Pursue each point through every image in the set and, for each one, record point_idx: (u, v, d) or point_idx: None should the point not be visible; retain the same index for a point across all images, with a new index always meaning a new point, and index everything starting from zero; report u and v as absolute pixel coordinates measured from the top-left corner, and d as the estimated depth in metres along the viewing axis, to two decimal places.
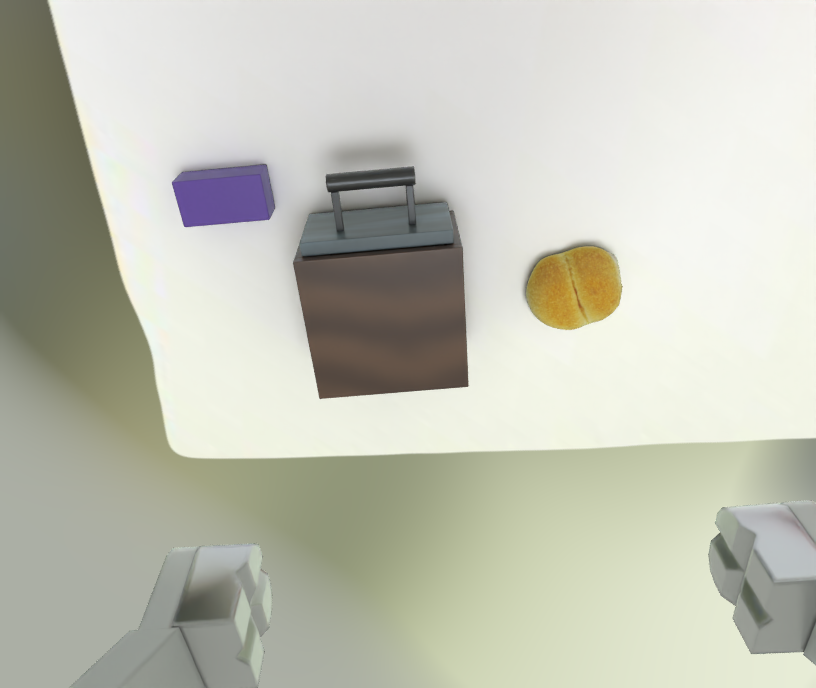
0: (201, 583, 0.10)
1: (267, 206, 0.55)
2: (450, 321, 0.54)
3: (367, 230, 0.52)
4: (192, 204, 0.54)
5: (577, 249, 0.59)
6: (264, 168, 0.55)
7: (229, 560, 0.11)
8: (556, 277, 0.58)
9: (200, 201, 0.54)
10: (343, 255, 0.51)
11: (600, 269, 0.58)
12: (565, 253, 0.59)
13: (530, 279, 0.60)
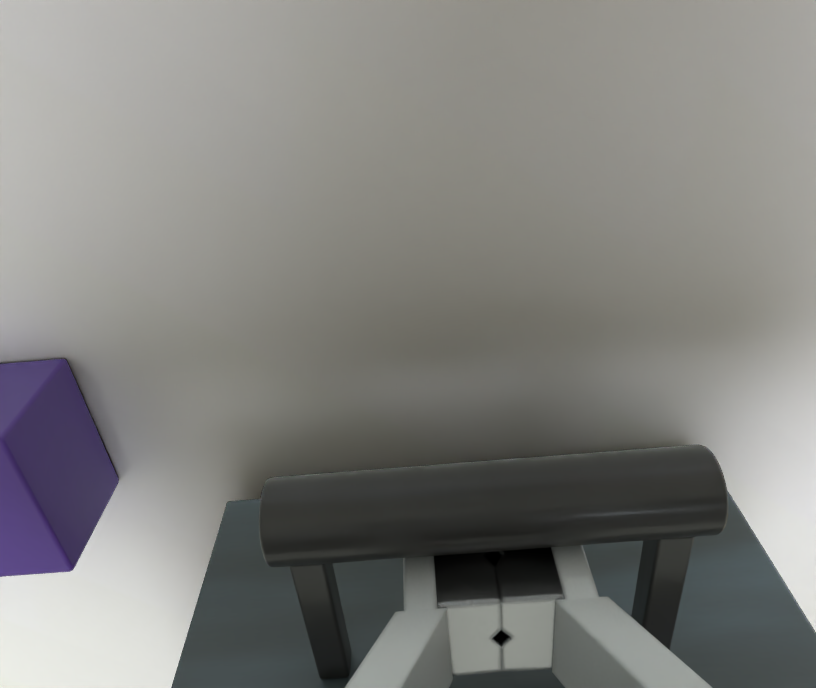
0: (451, 564, 0.10)
1: (59, 531, 0.14)
2: None
3: None
4: None
5: None
6: (48, 384, 0.14)
7: None
8: None
9: None
10: None
11: None
12: None
13: None
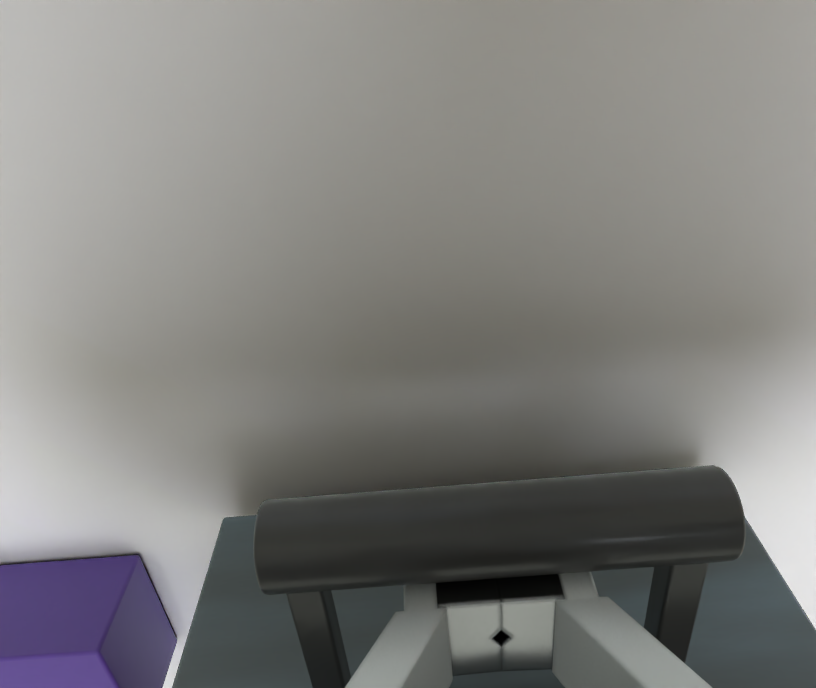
0: None
1: None
2: None
3: None
4: None
5: None
6: (127, 585, 0.17)
7: None
8: None
9: None
10: None
11: None
12: None
13: None
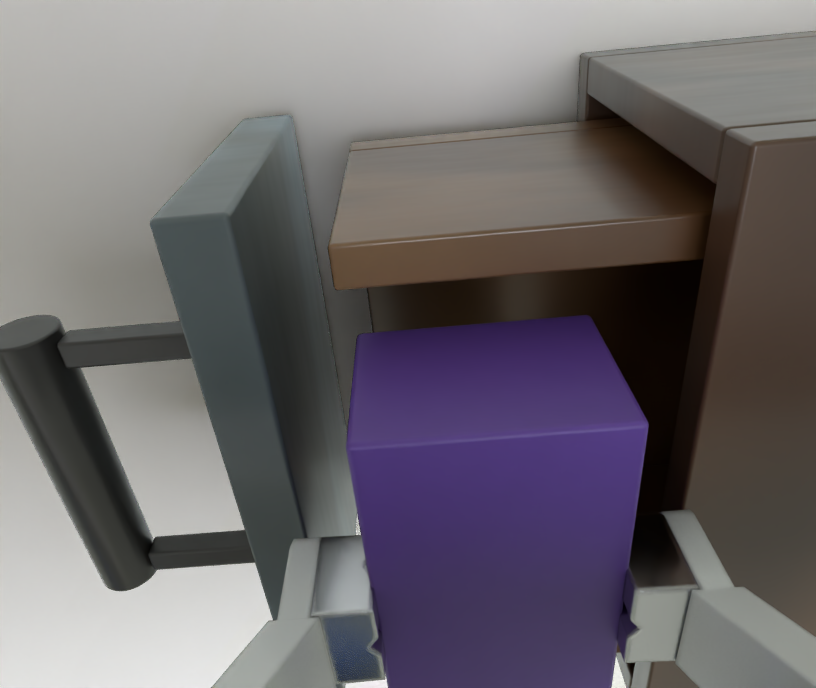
0: (332, 573, 0.10)
1: (560, 419, 0.08)
2: None
3: None
4: None
5: None
6: (359, 364, 0.10)
7: (357, 550, 0.10)
8: None
9: (491, 680, 0.11)
10: None
11: None
12: None
13: None
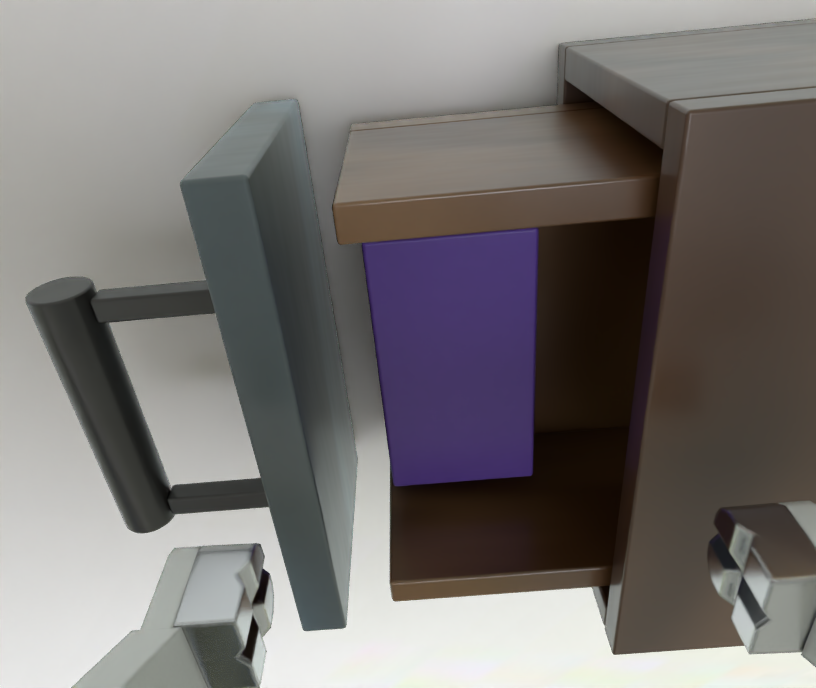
0: (203, 583, 0.10)
1: None
2: None
3: None
4: (463, 448, 0.17)
5: None
6: None
7: (232, 560, 0.11)
8: None
9: (454, 428, 0.17)
10: (620, 533, 0.15)
11: None
12: None
13: None
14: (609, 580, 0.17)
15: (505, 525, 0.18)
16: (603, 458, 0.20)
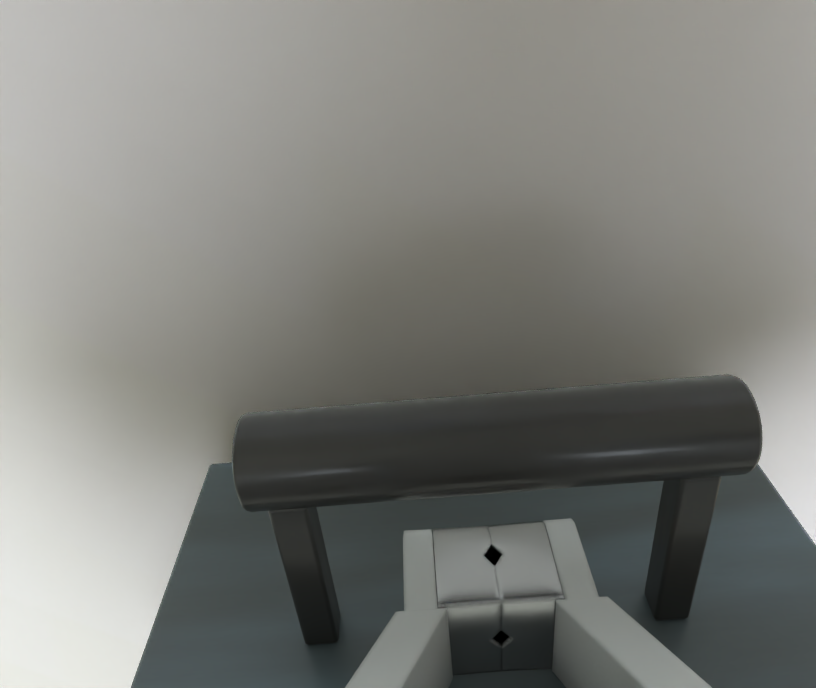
0: (451, 564, 0.10)
1: None
2: None
3: None
4: None
5: None
6: None
7: (472, 542, 0.10)
8: None
9: None
10: None
11: None
12: None
13: None
14: None
15: None
16: None
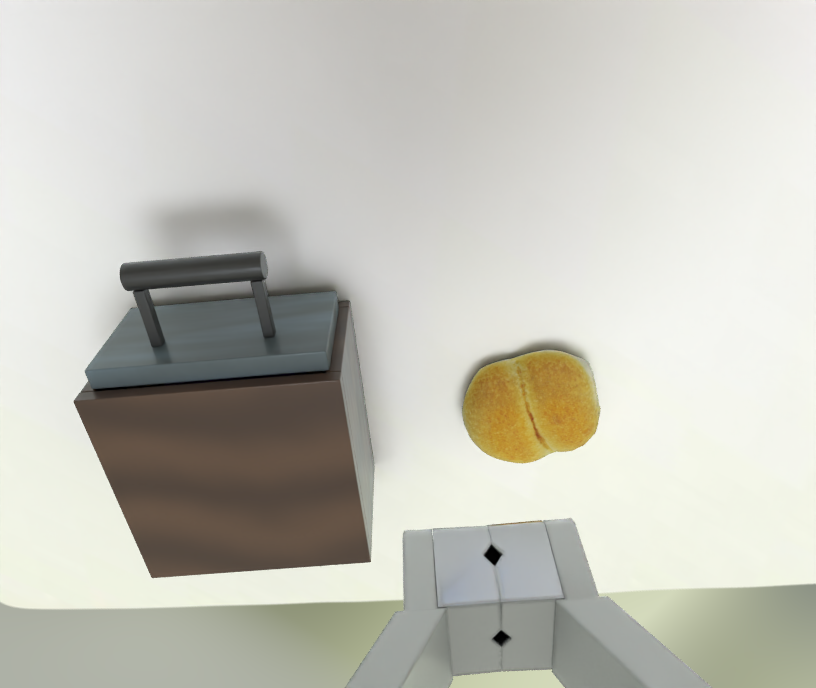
0: (451, 564, 0.10)
1: None
2: (333, 480, 0.35)
3: (197, 347, 0.33)
4: None
5: (534, 356, 0.40)
6: None
7: (472, 542, 0.10)
8: (502, 398, 0.40)
9: None
10: (154, 389, 0.32)
11: (566, 388, 0.39)
12: (517, 360, 0.41)
13: (467, 396, 0.41)
14: None
15: None
16: None
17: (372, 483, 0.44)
